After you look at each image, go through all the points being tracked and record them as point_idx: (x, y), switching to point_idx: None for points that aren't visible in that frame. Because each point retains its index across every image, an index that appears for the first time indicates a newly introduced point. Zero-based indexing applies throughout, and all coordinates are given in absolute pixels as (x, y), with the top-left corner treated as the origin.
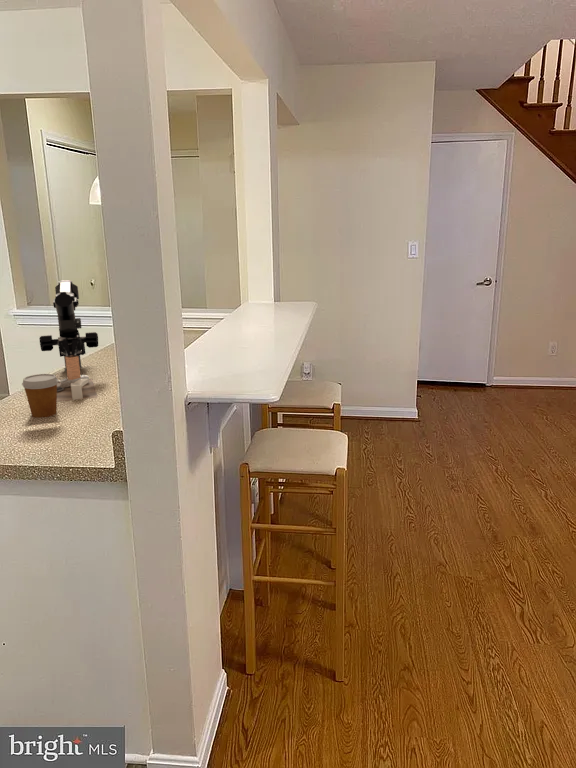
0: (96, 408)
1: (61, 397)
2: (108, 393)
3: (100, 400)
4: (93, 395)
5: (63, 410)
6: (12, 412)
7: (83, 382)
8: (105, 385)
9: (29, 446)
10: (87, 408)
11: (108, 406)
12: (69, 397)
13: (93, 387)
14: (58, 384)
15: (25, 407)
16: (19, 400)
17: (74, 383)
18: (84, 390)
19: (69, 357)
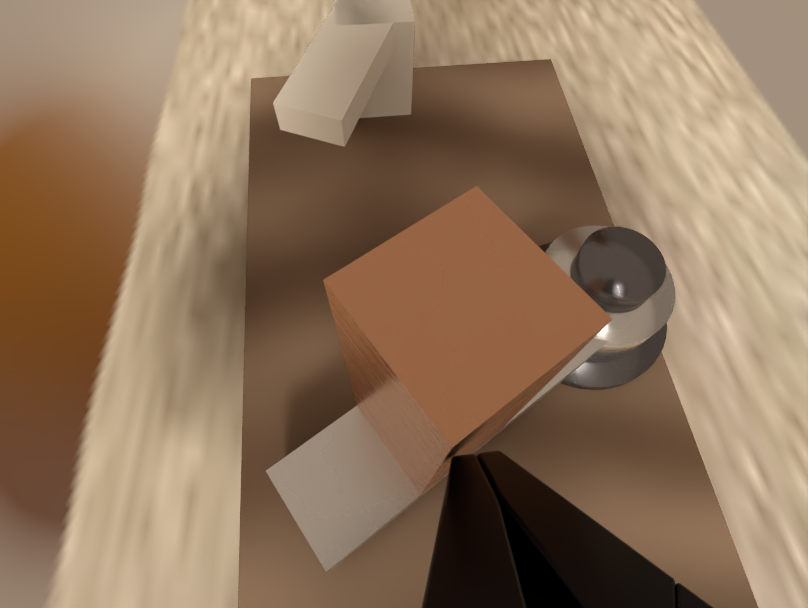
0: (277, 4)
1: (480, 126)
2: (166, 225)
3: (242, 105)
4: (273, 114)
5: (440, 15)
6: (697, 45)
7: (316, 40)
8: (139, 476)
9: None
10: (321, 13)
11: (214, 14)
12: (428, 113)
13: (256, 302)
14: (550, 247)
15: (663, 96)
16: (774, 228)
17: (384, 14)
18: (332, 237)
19: (496, 206)
